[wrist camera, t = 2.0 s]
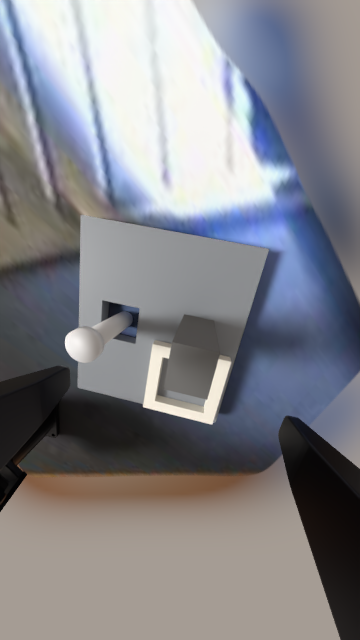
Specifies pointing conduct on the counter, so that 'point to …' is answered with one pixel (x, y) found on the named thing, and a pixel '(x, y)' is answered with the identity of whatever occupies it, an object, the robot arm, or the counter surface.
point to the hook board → (155, 300)
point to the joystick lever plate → (188, 370)
